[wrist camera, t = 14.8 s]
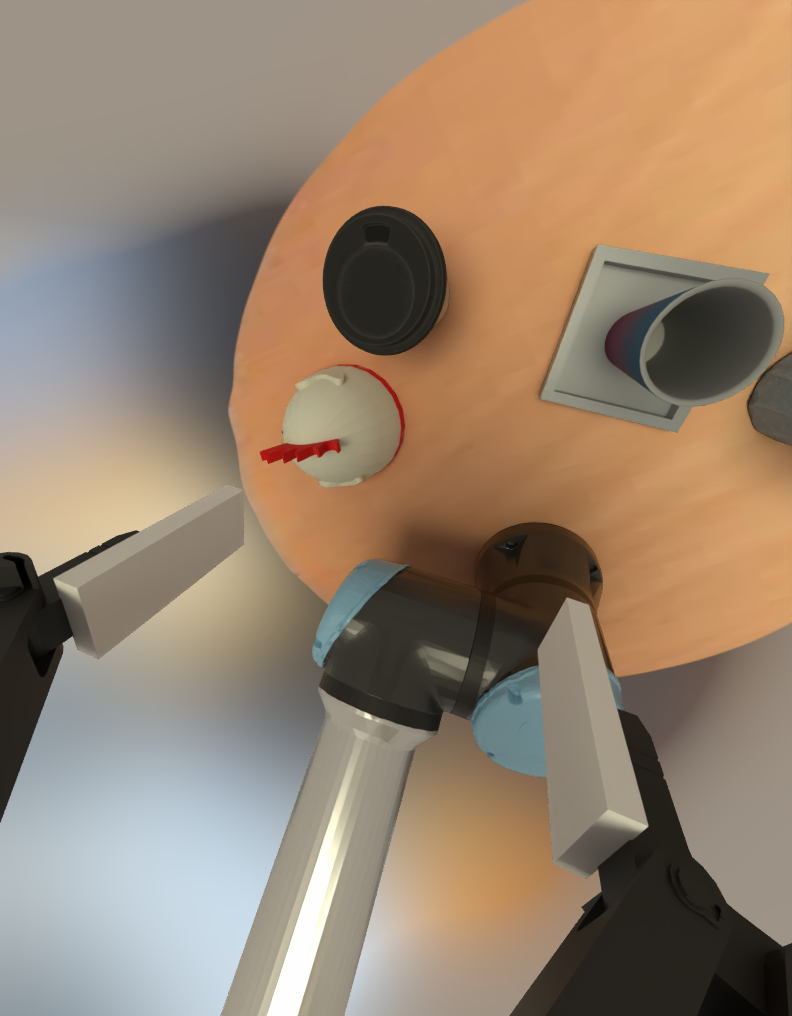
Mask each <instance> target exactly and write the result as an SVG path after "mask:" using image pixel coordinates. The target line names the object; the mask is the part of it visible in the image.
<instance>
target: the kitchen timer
mask: <svg viewBox="0 0 792 1016" xmlns="http://www.w3.org/2000/svg"><path fill="white" fill-rule="evenodd" d="M295 387H296V388H297V389H298V391H297V392H296V393H295V395H294V396H293V398H292V399H291V401H290V403H289V404H288V406H287V409H286V412H285V416H284V420H283V431H282V434H283V440H281V441H282V442H283V443H284V444H282V445H279V446H276V447H272V448H269V449H266V450H263V451H261V452H260V455H261V458H262V461H264V460H267V462H268V464H270V463H272V462H275V461H278V460H280V459H283V461H284V463H286V462H289V461H291V460H292V461H293V462H294V463H295V464H296V465H297V466H298V467H299V468H300V469H301V470H302V471H304V472H305V473H307V474H308V475H309V476H312V477H314V478H317V479H319V485H321V486H322V487H327V488H332V487H340V486H350V485H356V484H359V483H361V482H363V481H364V480H365V479H366V478H368V477H370V476H372V475H374V474H375V473H377V472H379V471H381V470H382V469H384V468H385V466H386V465H387V464H388V463H389V462H390V461H391V460H392V459H393V458H394V457H395V456H396V454H397V452H398V450H399V448H400V446H401V443H402V441H403V434H404V427H405V425H404V417H403V410H402V407H401V405H400V403H399V400H398V398H397V396H396V393H395V392H394V391H393V390H392V388H391V387H390V386H389V385H388V383H387V382H386V381H385V380H384V379H383V378H381V377H380V376H379V375H377V374H376V373H374V372H373V371H372V370H369V369H366V368H363V367H360V366H358V365H337V366H333V367H330V368H327V369H324V370H321V371H318V372H316V373H314V374H312V375H310V376H308V377H306V378H305V379H303V380H302V381H300V382H298V383H297V384H295Z"/></svg>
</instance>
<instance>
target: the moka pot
mask: <svg viewBox="0 0 792 1016" xmlns="http://www.w3.org/2000/svg"><path fill="white" fill-rule="evenodd" d="M749 413H750V416H751V420H752V424H753V426H754V427H755V429H756V430H757V431H759V432H761V433H762V434H764V435H766V436H768V437H770V438H772V439H774V440H777V441H779V442H782V443H785V444H788V445H792V353H791V354H789V355H788V356H787V357H785V358H783V359H782V360H781V361H779V362H778V363H777V364H775V365H774V366H773V367H772V368H771V369H770V370H769V371H768V372H767V373H766V374H765V375H764V376H763V377H762V378H761V380H760V381H759V383H758V385H757V387H756V389H755V391H754V393H753V394H752V397H751V400H750V401H749Z"/></svg>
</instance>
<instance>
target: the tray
mask: <svg viewBox="0 0 792 1016" xmlns="http://www.w3.org/2000/svg"><path fill="white" fill-rule="evenodd" d="M768 276H769V274H768V273H762V272H756V271H751V270H745V269H739V268H733V267H727V266H722V265H716V264H710V263H704V262H698V261H693V260H687V259H681V258H675V257H670V256H664V255H658V254H652V253H646V252H641V251H635V250H629V249H623V248H618V247H612V246H606V245H600V244H598V245H597V246H596V247H595V248H594V249H593V250H592V253H591V256H590V258H589V261H588V264H587V267H586V269H585V272H584V275H583V277H582V280H581V283H580V285H579V288H578V291H577V293H576V296H575V299H574V302H573V304H572V307H571V310H570V312H569V315H568V318H567V320H566V323H565V326H564V328H563V331H562V334H561V337H560V339H559V342H558V345H557V347H556V350H555V353H554V355H553V358H552V361H551V363H550V366H549V369H548V371H547V374H546V377H545V380H544V382H543V385H542V388H541V390H540V393H539V397H540V399H542V400H546V401H550V402H554V403H558V404H562V405H566V406H571V407H575V408H579V409H583V410H587V411H591V412H595V413H599V414H603V415H607V416H611V417H615V418H619V419H623V420H627V421H632V422H636V423H640V424H644V425H648V426H652V427H656V428H660V429H664V430H668V431H672V432H676V433H677V432H678V431H679V429H680V427H681V426H682V424H683V422H684V420H685V419H686V417H687V415H688V413H689V412H690V410H691V408H692V407H688V406H678V405H674V404H670V403H667V402H665V401H663V400H661V399H659V398H658V397H656V396H655V395H654V394H652V393H651V392H650V391H648V390H647V389H646V388H644V387H643V386H641V385H640V384H639V383H637V382H636V381H635V380H633V379H632V378H631V377H629V376H628V375H627V374H625V373H624V372H623V371H621V370H620V369H619V368H617V367H616V366H615V365H613V364H612V363H611V362H610V361H609V359H608V358H607V356H606V353H605V348H604V347H605V339H606V336H607V334H608V332H609V330H610V328H611V327H612V325H613V324H614V323H615V322H616V321H617V320H618V319H620V318H621V317H622V316H624V315H626V314H628V313H630V312H633V311H635V310H638V309H640V308H643V307H645V306H648V305H650V304H653V303H655V302H658V301H660V300H663V299H665V298H668V297H671V296H673V295H676V294H678V293H681V292H683V291H686V290H688V289H691V288H693V287H696V286H699V285H701V284H704V283H707V282H710V281H714V280H720V279H725V278H741V279H746V280H751V281H755V282H757V283H759V284H761V285H763V284H764V283H765V281H766V279H767V277H768Z"/></svg>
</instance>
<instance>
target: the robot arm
mask: <svg viewBox="0 0 792 1016" xmlns="http://www.w3.org/2000/svg"><path fill="white" fill-rule="evenodd" d="M243 501H244V499H243V490H242V489H239V488H236V487H233V486H230V485H226V486H224V487H222V488H221V489H218V490H217V491H215V492H213V493H211V494H209V495H207V496H206V497H204V498H202V499H200V500H198V501H196V502H194V503H192V504H191V505H189V506H187V507H185V508H183V509H181V510H179V511H178V512H176V513H174V514H172V515H170V516H169V517H166V518H165V519H163V520H161V521H159V522H157V523H155V524H153V525H152V526H150V527H148V528H146V529H144V530H142V531H140V532H139V531H132V532H129V533H125V534H122V535H118V536H116V537H114V538H112V539H110V540H108V541H106V542H104V543H103V544H102V545H101V546H97V547H95V548H93V549H91V550H89V552H88V553H87V552H85V553H83V554H81V555H79V556H77V557H75V558H74V559H72V560H70V561H68V562H66V563H64V564H62V565H60V566H58V567H56V568H54V569H52V570H50V571H48V572H46V573H45V574H43V575H41V576H39V577H38V576H37V573H36V570H35V568H34V565H33V562H32V560H31V558H30V557H29V556H28V555H25V554H22V553H15V552H6V553H0V822H1V819H2V817H3V814H4V811H5V809H6V806H7V803H8V801H9V798H10V795H11V792H12V790H13V787H14V784H15V782H16V779H17V776H18V773H19V771H20V768H21V765H22V763H23V760H24V757H25V754H26V752H27V749H28V746H29V744H30V741H31V738H32V735H33V733H34V730H35V727H36V724H37V722H38V719H39V717H40V713H41V711H42V708H43V706H44V703H45V700H46V697H47V695H48V692H49V689H50V687H51V684H52V681H53V679H54V676H55V673H56V670H57V667H58V665H59V662H60V660H61V657H62V654H63V644H62V643H63V642H65V641H66V640H67V639H69V638H70V637H72V636H73V638H74V641H75V644H76V647H77V650H79V651H81V652H84V653H86V654H88V655H90V656H93V657H95V658H97V659H100V658H101V657H102V656H103V655H105V654H106V653H107V652H108V651H110V650H111V649H112V648H113V647H115V646H116V645H117V644H118V643H120V642H121V641H122V640H124V639H125V638H126V637H127V636H129V635H130V634H131V633H132V632H133V631H135V630H136V629H137V628H139V627H140V626H141V625H143V624H144V623H145V622H146V621H148V620H149V619H150V618H151V617H153V616H154V615H155V614H156V613H158V612H159V611H160V610H161V609H163V608H164V607H165V606H167V605H168V604H169V603H170V602H172V601H173V600H174V599H175V598H177V597H178V596H179V595H180V594H181V593H183V592H184V591H186V590H187V589H188V588H189V587H190V586H192V585H193V584H194V583H196V582H197V581H198V580H199V579H201V578H202V577H203V576H204V575H206V574H207V573H208V572H209V571H211V570H212V569H213V568H214V567H216V566H217V565H218V564H220V563H221V562H222V561H223V560H224V559H226V558H227V557H228V556H230V555H231V554H232V553H233V552H235V551H236V550H237V549H238V548H240V547H241V546H242V545H244V506H243V505H244V503H243ZM475 582H476V588H475V587H472V586H469V585H465V584H462V583H459V582H455V581H452V580H449V579H445V578H442V577H439V576H436V575H433V574H430V573H427V572H423V571H420V570H417V569H414V568H412V567H411V565H408V564H403V565H401V564H397V563H393V562H389V561H385V560H381V559H369V560H366V561H364V562H362V563H360V564H359V565H358V566H357V567H356V568H354V570H353V571H351V572H350V574H349V575H348V576H347V577H346V578H345V580H344V581H343V582H342V584H341V585H340V587H339V588H338V590H337V592H336V593H335V595H334V596H333V598H332V600H331V602H330V604H329V606H328V607H327V609H326V612H325V614H324V616H323V618H322V620H321V623H320V625H319V628H318V630H317V634H316V637H317V638H316V641H315V642H314V645H313V650H312V654H313V658H314V660H315V661H316V662H317V663H318V665H319V666H320V667H323V668H324V667H325V671H324V673H323V676H322V679H321V682H320V684H319V687H318V691H319V693H320V696H321V698H322V701H323V704H324V706H325V709H326V716H325V720H324V722H323V725H322V728H321V731H320V734H319V736H318V739H317V742H316V745H315V748H314V751H313V754H312V756H311V759H310V762H309V765H308V768H307V771H306V774H305V776H304V779H303V782H302V785H301V788H300V791H299V794H298V796H297V799H296V802H295V805H294V808H293V811H292V813H291V816H290V819H289V822H288V825H287V828H286V831H285V833H284V836H283V839H282V842H281V845H280V848H279V851H278V854H277V856H276V859H275V862H274V865H273V868H272V871H271V873H270V876H269V879H268V882H267V885H266V888H265V890H264V894H263V896H262V899H261V902H260V905H259V908H258V910H257V913H256V917H255V919H254V922H253V925H252V928H251V931H250V933H249V936H248V939H247V942H246V945H245V948H244V951H243V953H242V956H241V959H240V962H239V965H238V968H237V970H236V973H235V976H234V979H233V982H232V985H231V988H230V990H229V993H228V996H227V999H226V1002H225V1005H224V1007H223V1011H222V1013H221V1016H344V1015H345V1011H346V1007H347V1003H348V1000H349V996H350V992H351V988H352V984H353V981H354V977H355V973H356V969H357V965H358V962H359V958H360V954H361V951H362V947H363V943H364V939H365V936H366V932H367V928H368V925H369V921H370V917H371V913H372V909H373V906H374V902H375V898H376V895H377V890H378V887H379V883H380V879H381V876H382V872H383V868H384V864H385V860H386V857H387V853H388V850H389V846H390V842H391V838H392V835H393V831H394V827H395V823H396V820H397V816H398V812H399V808H400V805H401V801H402V797H403V793H404V790H405V786H406V782H407V778H408V774H409V770H410V767H411V763H412V759H413V755H414V752H415V748H416V747H417V746H418V745H419V744H421V743H422V742H424V741H426V740H427V739H429V738H431V737H432V736H434V735H436V734H437V732H438V728H439V725H440V721H441V717H442V713H443V712H444V711H446V712H449V713H452V714H454V715H457V716H459V717H462V718H465V719H467V720H470V721H471V724H472V726H471V729H472V731H473V734H474V738H475V741H476V742H477V744H478V746H479V748H480V749H481V750H482V751H483V752H487V755H488V757H489V758H490V759H491V760H493V761H494V762H496V763H497V764H499V765H501V766H503V767H505V768H507V769H510V770H513V771H515V772H519V773H522V774H527V775H531V776H539V777H547V789H548V803H549V817H550V831H551V844H552V859H553V864H555V865H557V866H559V867H561V868H563V869H565V870H568V871H570V872H572V873H574V874H577V875H579V876H581V877H584V878H586V879H587V878H588V877H589V876H590V875H592V874H593V873H594V872H595V871H596V870H598V871H599V877H600V883H601V890H602V892H600V893H599V894H598V895H596V896H595V897H594V898H593V899H591V900H590V901H589V902H587V903H586V904H585V905H584V906H582V908H583V910H584V911H585V912H584V913H583V915H582V916H581V918H580V919H579V920H578V922H577V923H576V924H575V926H574V927H573V929H572V930H571V931H570V933H569V934H568V936H567V937H566V938H565V940H564V941H563V943H562V944H561V945H560V947H559V948H558V949H557V951H556V952H555V953H554V955H553V956H552V958H551V959H550V960H549V962H548V963H547V965H546V966H545V967H544V969H543V970H542V971H541V973H540V974H539V976H538V977H537V979H536V980H535V981H534V983H533V984H532V985H531V987H530V988H529V989H528V991H527V992H526V994H525V995H524V996H523V998H522V999H521V1001H520V1002H519V1003H518V1005H517V1006H516V1007H515V1009H514V1010H513V1012H512V1013H511V1014H510V1016H792V943H791V944H788V945H786V946H783V947H782V946H781V945H779V944H778V943H777V942H776V941H774V940H773V939H772V938H770V937H769V936H768V935H766V934H765V933H764V932H762V931H761V930H760V929H758V928H757V927H756V926H755V925H753V924H752V923H751V922H749V921H748V920H747V919H746V918H744V917H743V916H741V915H740V914H739V913H738V912H736V911H735V910H734V909H733V908H732V907H731V906H729V905H728V904H727V903H726V901H725V899H724V897H723V895H722V894H721V892H720V890H719V888H718V886H717V884H716V883H715V881H714V880H713V879H712V878H711V877H710V875H709V874H708V873H707V871H706V870H705V869H704V868H703V866H701V865H700V864H699V863H698V862H697V861H696V860H695V859H694V858H692V856H691V853H690V851H689V849H688V846H687V843H686V840H685V837H684V834H683V831H682V828H681V825H680V822H679V819H678V816H677V813H676V810H675V807H674V804H673V801H672V798H671V795H670V792H669V789H668V786H667V783H666V780H665V779H663V776H664V774H663V771H662V768H661V765H660V762H658V760H657V759H658V756H657V753H656V750H655V747H654V744H653V741H652V738H651V736H650V734H649V733H648V732H647V730H646V728H645V727H644V725H643V724H642V722H641V721H640V720H639V718H638V716H636V715H634V714H631V713H628V712H626V711H624V710H623V704H622V699H621V688H620V684H619V681H618V680H617V678H616V676H615V673H614V670H613V667H612V663H611V660H610V657H609V653H608V650H607V647H606V643H605V640H604V636H603V633H602V630H601V626H600V623H599V620H598V617H597V610H598V606H599V602H600V598H601V594H602V589H603V578H602V572H601V569H600V566H599V563H598V560H597V558H596V556H595V554H594V552H593V550H592V549H591V548H590V546H589V545H588V544H587V543H586V542H585V541H584V540H583V539H582V538H580V537H579V536H577V535H576V534H574V533H573V532H571V531H569V530H567V529H564V528H562V527H559V526H555V525H551V524H545V523H526V524H520V525H516V526H512V527H510V528H507V529H505V530H503V531H501V532H499V533H498V534H496V535H495V536H493V537H492V538H491V539H490V540H489V541H488V542H487V543H486V544H485V545H484V547H483V548H482V550H481V552H480V554H479V557H478V560H477V565H476V572H475Z"/></svg>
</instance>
